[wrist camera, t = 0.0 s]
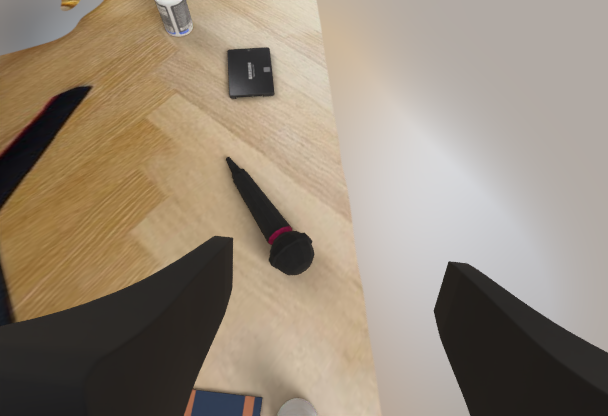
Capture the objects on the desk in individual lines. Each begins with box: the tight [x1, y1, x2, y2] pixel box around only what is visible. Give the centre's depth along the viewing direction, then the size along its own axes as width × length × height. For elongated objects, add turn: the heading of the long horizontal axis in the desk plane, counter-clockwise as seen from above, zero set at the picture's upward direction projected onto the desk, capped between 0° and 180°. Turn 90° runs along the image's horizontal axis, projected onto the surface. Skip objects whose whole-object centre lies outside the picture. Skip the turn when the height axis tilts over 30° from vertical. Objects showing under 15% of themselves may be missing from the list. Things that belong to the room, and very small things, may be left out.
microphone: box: [226, 157, 314, 275], centre depth 46 cm, size 6×6×20 cm
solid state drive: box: [228, 47, 274, 99], centre depth 58 cm, size 7×10×1 cm
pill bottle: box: [155, 0, 193, 37], centre depth 59 cm, size 5×5×8 cm
